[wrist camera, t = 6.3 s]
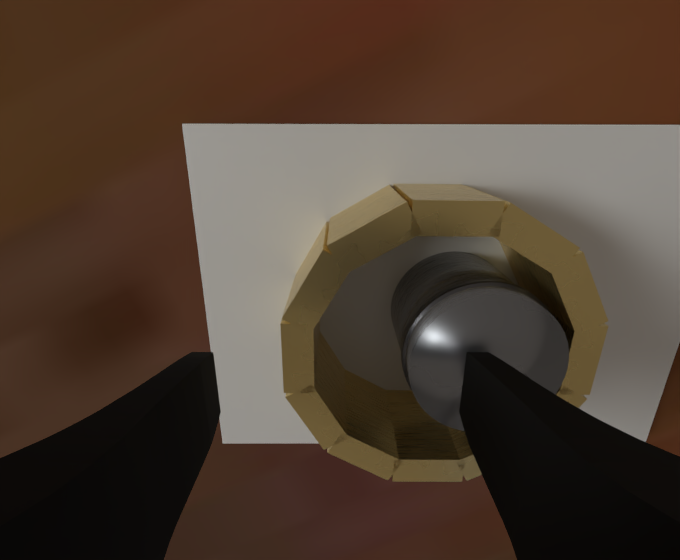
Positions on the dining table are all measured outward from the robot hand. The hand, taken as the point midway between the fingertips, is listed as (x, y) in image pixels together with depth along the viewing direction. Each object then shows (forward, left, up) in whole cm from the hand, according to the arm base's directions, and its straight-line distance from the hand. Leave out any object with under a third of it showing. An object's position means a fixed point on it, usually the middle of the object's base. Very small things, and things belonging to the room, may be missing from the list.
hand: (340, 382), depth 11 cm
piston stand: (-4, 0, -6) cm, 8 cm away
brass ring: (-3, 0, -5) cm, 6 cm away
